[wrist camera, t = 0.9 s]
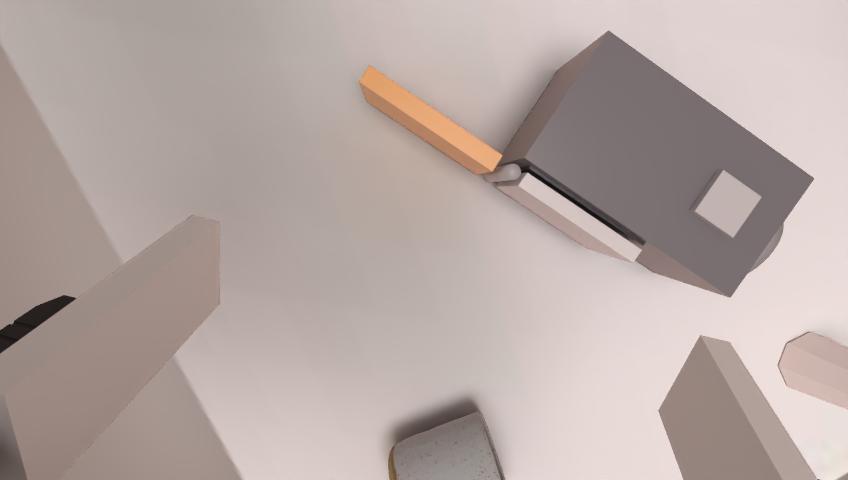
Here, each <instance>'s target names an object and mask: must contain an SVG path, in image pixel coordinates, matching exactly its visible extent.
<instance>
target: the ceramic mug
mask: <svg viewBox="0 0 848 480" xmlns="http://www.w3.org/2000/svg"><path fill="white" fill-rule="evenodd" d="M388 468H389V478H390V480H505V477H504V474H503V471H502V468H501V465H500V462H499V459H498V456H497V453H496V450H495V448H494V445H493V441H492V438H491V436H490V433H489V430H488V427H487V425H486V422H485V420H484V418H483V415H482V413H481V412H474V413H471V414H469V415H466V416H464V417H461V418H458V419H456V420H453V421H450V422H448V423H445V424H442V425H440V426H437V427H435V428H432V429H430V430H427V431H424V432H421V433H418V434H415V435H413V436H410V437H408V438H406V439H404V440H403V441H401V442H399V443H398V444H396V445H395V446H394V447H393V448H392V450H391V452H390V454H389V460H388Z"/></svg>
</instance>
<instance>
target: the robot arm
mask: <svg viewBox="0 0 848 480" xmlns="http://www.w3.org/2000/svg"><path fill="white" fill-rule="evenodd" d="M219 304H220V286H219V221H215V220H211V219H207V218H203V217H198V216H194V215H192V216H190V217H189V218H188V219H186V220H185V221H183V222H182V223H181V224H179V225H178V226H177V227H175V228H174V229H172V230H171V231H170V232H168V233H167V234H165V235H164V236H163V237H161V238H160V239H158V240H157V241H156V242H154V243H153V244H152V245H150V246H149V247H147V248H146V249H145V250H143V251H142V252H140V253H139V254H138V255H136V256H135V257H134V258H132V259H131V260H129V261H128V262H127V263H125V264H124V265H122V266H121V267H120V268H118V269H117V270H116V271H114V272H113V273H111V274H110V275H109V276H107V277H106V278H104V279H103V280H102V281H100V282H99V283H98V284H96V285H95V286H93V287H92V288H91V289H89V290H88V291H87V292H85V293H84V294H82V295H81V296H80V297H78V298H74V297H69V296H65V295H63V296H61V297H58V298H56V299H53V300H51V301H48V302H45V303H43V304H40V305H38V306H36V307H34V308H33V309H31V310H30V311H28V312H27V313H25V314H24V315H22V316H21V317H19V318H18V319H16V320H15V321H14V323H13V324H12V325H11V324H9V325H7V326H6V327H4V328H3V329H1V330H0V480H60V479H61V478H62V477H63V476H64V475H65V473H66V472H67V471H68V470H69V469H70V468H71V467H72V465H74V463H75V462H76V461H77V460H78V459H79V458H80V457H81V456H82V455H83V453H84V452H85V451H86V450H87V449H88V448H89V447H90V446H91V445H92V444H93V443H94V441H95V440H96V439H97V438H98V437H99V436H100V435H101V434H102V433H103V431H104V430H105V429H106V428H107V427H108V426H109V425H110V424H111V423H112V422H113V421H114V419H115V418H116V417H117V416H118V415H119V414H120V413H121V412H122V411H123V410H124V408H125V407H126V406H127V405H128V404H129V403H130V402H131V401H132V400H133V398H134V397H135V396H136V395H137V394H138V393H139V392H140V391H141V390H142V389H143V387H144V386H145V385H146V384H147V383H148V382H149V381H150V380H151V379H152V378H153V376H154V375H155V374H156V373H157V372H158V371H159V370H160V369H161V367H162V366H163V365H164V364H165V363H166V362H167V361H168V360H169V359H170V358H171V357H172V356H173V354H174V353H175V352H176V351H177V350H178V349H179V348H180V347H181V346H182V345H183V343H184V342H185V341H186V340H187V339H188V338H189V337H190V336H191V335H192V334H193V332H194V331H195V330H196V329H197V328H198V327H199V326H200V325H201V324H202V322H203V321H204V320H205V319H206V318H207V317H208V316H209V315H210V314H211V313H212V311H213V310H214V309H215V308H216V307H217V306H218V305H219ZM658 411H659V414H660V416H661V419H662V422H663V425H664V427H665V430H666V433H667V436H668V438H669V441H670V444H671V447H672V449H673V452H674V455H675V457H676V460H677V463H678V466H679V468H680V471H681V474H682V477H683V479H684V480H819V479H817V478H816V476H815V475H814V473H813V472H812V470H811V468H810V467H809V465H808V464H807V462H806V461H805V459H804V458H803V456H802V454H801V453H800V451H799V450H798V448H797V447H796V445H795V443H794V442H793V440H792V439H791V437H790V436H789V434H788V433H787V431H786V429H785V428H784V426H783V425H782V423H781V422H780V420H779V418H778V417H777V415H776V414H775V412H774V411H773V409H772V408H771V406H770V404H769V403H768V401H767V400H766V398H765V397H764V395H763V393H762V392H761V390H760V389H759V387H758V386H757V384H756V383H755V381H754V379H753V378H752V376H751V375H750V373H749V372H748V370H747V368H746V367H745V365H744V364H743V362H742V361H741V359H740V358H739V356H738V354H737V353H736V351H735V350H734V348H733V347H732V345H731V343H730V342H727V341H723V340H718V339H714V338H710V337H706V336H702V335H700V337H699V339H698V340H697V342H696V344H695V346H694V348H693V349H692V351H691V353H690V355H689V357H688V358H687V360H686V362H685V364H684V365H683V367H682V369H681V371H680V373H679V374H678V376H677V378H676V380H675V382H674V383H673V385H672V387H671V389H670V391H669V392H668V394H667V396H666V398H665V400H664V401H663V403H662V405H661V407H660V409H659V410H658Z"/></svg>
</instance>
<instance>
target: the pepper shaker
mask: <svg viewBox="0 0 848 480" xmlns="http://www.w3.org/2000/svg"><path fill="white" fill-rule="evenodd" d="M778 366H779V368H780V370H781V373H782V375H783V377H784V379H785V382H786V384H787V386H788V387H790V388H792V389H795V390H798V391H800V392H803V393H806V394H808V395H811V396H813V397H816V398H819V399H821V400H824V401H827V402H829V403H832V404H835V405H837V406H840V407H842V408H845V409H848V347H846V346H844V345H842V344H840V343H838V342H836V341H834V340H832V339H829V338H826V337H822V336H819V335H816V334H813V333H810V332H809V333H807V334H805V335H803V336H801V337H799V338H797V339H795V340H793V341H791V342H789V343H787V345H786V347H785V350H784V352H783V355H782V357H781V360H780V363H779V365H778Z"/></svg>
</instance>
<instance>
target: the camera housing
mask: <svg viewBox="0 0 848 480" xmlns="http://www.w3.org/2000/svg"><path fill="white" fill-rule="evenodd" d="M502 155H503V156H502V158H501V159H500V161H499V162H498V164H497V165H496V167H501V166H505V165H509V164H516V165H518V166H519V167H520V169H521V173H526V172H527V173H529V174H530V175H532V176H533V177H535V178H536V179H538V180H539V181H541V182H542V183H544V184H545V185H547V186H548V187H550V188H551V189H553V190H554V191H556V192H557V193H558V194H560V195H561V196H563V197H564V198H566V199H567V200H569V201H570V202H572V203H573V204H575V205H576V206H578V207H579V208H581V209H582V210H584V211H585V212H587V213H588V214H589V215H591V216H592V217H594V218H595V219H597V220H598V221H600V222H601V223H603V224H604V225H606V226H607V227H609V228H610V229H612V230H613V231H615V232H616V233H618V234H619V235H621V236H622V237H623V238H625V239H626V240H628V241H629V242H631V243H632V244H634V245H635V246H637V247H638V248H640V249H641V250H642V251H641V252H640V254H639V255H638V257H637V258H636V261H637V262H639V263H640V264H642V265H643V266H644V267H646V268H647V269H649V270H650V271H652V272H654V273H657V274H660V275H663V276H666V277H669V278H672V279H675V280H678V281H681V282H684V283H687V284H690V285H693V286H696V287H699V288H702V289H705V290H708V291H712V292H715V293H718V294H721V295H724V296H727V297H731V296H732V295H733V293H734V292H735V290H736V289H737V287H738V286H739V285H740V283H741V282H742V280H743V279H744V278H745V276H746V275H747V273H749V272H751V271H752V270H754V269H755V268H757V267H758V266H759V265H760V264H762V263H763V262H764V261H765V260H766V259H767V258H768V257H769V256H770V254H771V253H772V252H773V251H774V249H775V248H776V246H777V245H778V243H779V241H780V238H781V236H782V233H783V226H784V225H783V222H784V221H785V219H786V218H787V217H788V215H789V214H790V212H791V211H792V210H793V208H794V207H795V205H796V204H797V202H798V201H799V200H800V198H801V197H802V195H803V194H804V193H805V191H806V190H807V188H808V187H809V185H810V184H811V183H812V181H813V180H814V178H813V177H812V176H810V175H809V174H807V173H806V172H805V171H803V170H802V169H800V168H799V167H798V166H796V165H795V164H794V163H792V162H791V161H789V160H788V159H787V158H785V157H784V156H782V155H781V154H780V153H778V152H777V151H775V150H774V149H773V148H771V147H770V146H768V145H767V144H766V143H764V142H763V141H762V140H760V139H759V138H757V137H756V136H755V135H753V134H752V133H750V132H749V131H748V130H746V129H745V128H743V127H742V126H741V125H739V124H738V123H736V122H735V121H734V120H732V119H731V118H730V117H728V116H727V115H725V114H724V113H723V112H721V111H720V110H718V109H717V108H716V107H714V106H713V105H711V104H710V103H709V102H707V101H706V100H704V99H703V98H702V97H700V96H699V95H698V94H696V93H695V92H693V91H692V90H691V89H689V88H688V87H686V86H685V85H684V84H682V83H681V82H679V81H678V80H677V79H675V78H674V77H672V76H671V75H670V74H668V73H667V72H666V71H664V70H663V69H661V68H660V67H659V66H657V65H656V64H654V63H653V62H652V61H650V60H649V59H647V58H646V57H645V56H643V55H642V54H640V53H639V52H638V51H636V50H635V49H634V48H632V47H631V46H629V45H628V44H627V43H625V42H624V41H622V40H621V39H620V38H618V37H617V36H615V35H614V34H613V33H611V32H610V31H607V32H606V33H605V34H604V35H602V36H601V37H600V38H598V39H597V40H596V41H595V42H593V43H592V44H591V45H589V46H588V47H587V48H586V49H584V50H583V51H582V52H580V53H579V54H578V55H577V56H575V57H574V58H573V59H572V60H570V61H569V62H568V63H566V64H565V65H564V66H563V67H561V68H560V69H559V70H558V71H557V72H556V74H555V75H554V77H553V78H552V80H551V81H550V83H549V84H548V86H547V87H546V89H545V90H544V92H543V93H542V95H541V96H540V98H539V100H538V101H537V103H536V104H535V106H534V107H533V109H532V110H531V112H530V113H529V115H528V116H527V118H526V119H525V121H524V122H523V124H522V125H521V127H520V128H519V130H518V131H517V133H516V134H515V136H514V137H513V139H512V140H511V142H510V144H509V145H508V147H507V148H506V150H505V151H504V153H503V154H502Z"/></svg>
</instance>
